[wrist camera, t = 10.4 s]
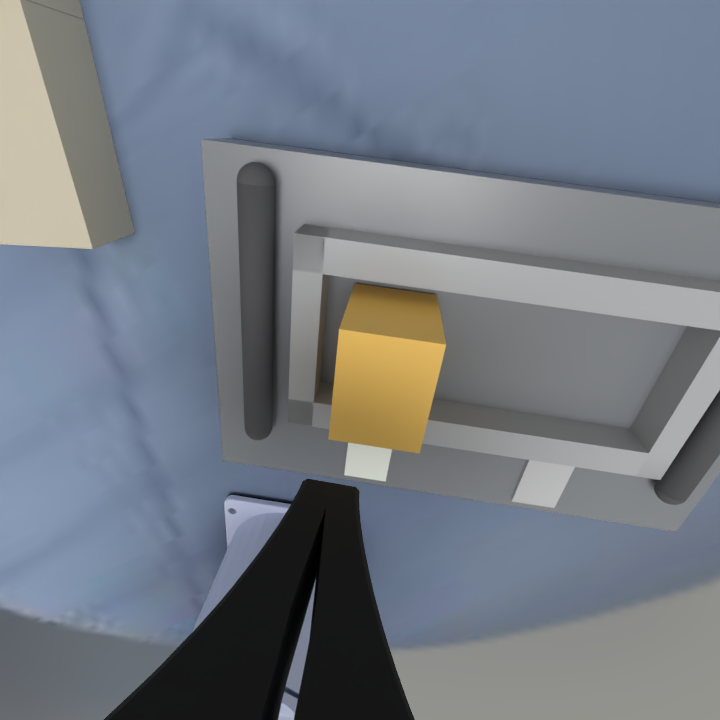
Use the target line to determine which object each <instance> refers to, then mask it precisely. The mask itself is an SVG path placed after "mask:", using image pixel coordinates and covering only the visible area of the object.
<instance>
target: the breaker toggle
mask: <svg viewBox="0 0 720 720" xmlns="http://www.w3.org/2000/svg"><path fill="white" fill-rule="evenodd" d="M445 348H446V341H445V335H444V330H443V325H442V319H441V314H440V309H439V304H438V298H437V295H434V294H427V293H420V292H413V291H406V290H399V289H392V288H385V287H378V286H371V285H364V284H357V283H355V284H354V287H353V290H352V293H351V296H350V299H349V302H348V305H347V307H346V310H345V313H344V316H343V319H342V322H341V325H340V328H339V335H338V346H337V356H336V366H335V376H334V387H333V397H332V407H331V417H330V428H329V438H328V440H335V441H341V442H348V443H354V444H361V445H367V446H374V447H380V448H387V449H393V450H400V451H406V452H413V453H419V454H420V450H421V446H422V442H423V438H424V434H425V430H426V426H427V421H428V417H429V413H430V409H431V405H432V401H433V397H434V393H435V389H436V385H437V381H438V377H439V373H440V368H441V364H442V360H443V356H444V352H445Z"/></svg>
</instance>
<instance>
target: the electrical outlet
mask: <svg viewBox="0 0 720 720" xmlns="http://www.w3.org/2000/svg"><path fill="white" fill-rule="evenodd" d="M134 233H135V232H134V227H133V223H132V219H131V215H130V211H129V206H128V202H127V198H126V194H125V189H124V185H123V181H122V177H121V173H120V168H119V164H118V160H117V156H116V151H115V147H114V143H113V139H112V135H111V130H110V126H109V122H108V118H107V113H106V109H105V105H104V101H103V97H102V92H101V88H100V84H99V80H98V75H97V71H96V67H95V63H94V59H93V54H92V50H91V46H90V42H89V37H88V33H87V29H86V25H85V21H84V16H83V12H82V8H81V4H80V0H0V244H9V245H28V246H47V247H66V248H85V249H94V248H96V247H99V246H102V245H104V244H107V243H110V242H112V241H115V240H118V239H120V238H123V237H126V236H128V235H131V234H134Z"/></svg>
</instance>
